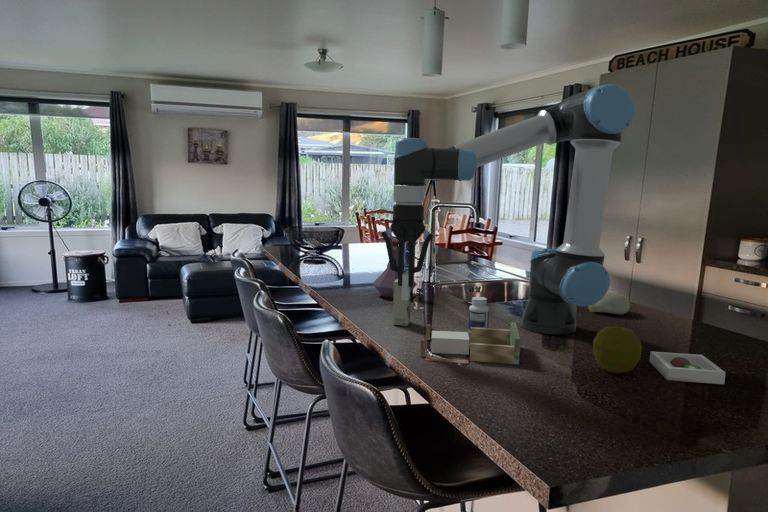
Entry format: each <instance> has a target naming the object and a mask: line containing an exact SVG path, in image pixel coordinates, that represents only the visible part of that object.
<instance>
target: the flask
mask: <svg viewBox="0 0 768 512" xmlns="http://www.w3.org/2000/svg"><path fill="white" fill-rule="evenodd" d="M392 244H393V249H394V253H395V258H396V263H397V266H398V256H399V241H398V240H392ZM404 272H407V271H406V269H405V270H404ZM397 279H398V273H397V272H396V271H393V270H391V267H390V262H389V261H388V262H387V266H386V268H385V269H384V271H383V272H382V273H381V274H380V275H379V276H378V277H377V278H376V279H375V280H374V281H373V282H372V284H371V285H373V286H374V287H375V289H376V290H377V291H378V292H379V294H380V295H381V296H383V297H384V298H387V297H390V298H389V299H394V281H395V280H397ZM417 285H418V284H417V283H416V281H415V280H414V285H413V286H412V287H410V293H411V292H413V290H414V288H415V287H417Z"/></svg>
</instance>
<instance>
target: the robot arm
mask: <svg viewBox="0 0 768 512" xmlns="http://www.w3.org/2000/svg"><path fill="white" fill-rule="evenodd" d="M635 112H636V107H635V101H634V100H633V98H632V96H631V94H629V92H628V91H627V89H625V88H624V87H623V86H620V85H619V84H612V83H609V84H606V83H605V84H603V85H599V84H598V85H596V86H594V87H592V88H590V89H586V90H583V91H581V92H578V93H575V94H572V95H570V96H569V97H567V98H565V99H563V100H561V101H559V102H558V103H556V104H554V105H551V106H549V107H547V108H544V109H542V110H539V111H538V113H537V115H536V116H533V117H529V118H527V119H524V120H521V121H519V122H517V123H513V124H510V125H508V126H505V127H502V128H500V129H496V130H494V131H491V132H488V133H485V134H482V135H480V136H477V137H474V138H472V139H469V140H465V141H463V142H460V143H458V144H455V145H453V146H450V147H446V148H442V147H441V148H433V147H428V144H427V143H428V142H427V140H426V139H425V138H421V137H418V138H417V137H401V138H399V139H398V140H396V141H395V149H394V150H395V151H394V157H393V158H394V159H393V160H394V161H393V162H394V165H393V167H394V170H393V172H394V173H393V194H392V195H393V197H392V200H393V203H395V204H393V205H392V221H391V224H390V227H389V228H388V229H387V230H384V231H382V232H381V237H382V238H383V240H384V243H385V247H386V251H387V256H388V262H390V267H391V270H393V271H396V272H397V273H398V286H402V300H407V301H408V299H409V287H412V286H413V285H414V281H415V274H416V273H420V272H421V271H422V270H423V265H424V262H425V260H426V256H427V252H428V249H429V245H430V242H431V241H432V240H433V239H434V237H435V235H434V233H433V232H431V231H429V230H427V229H426V226H425V223H424V219H425V218H424V217H425V215H424V214H425V206H424V205H423V203H425V196H426V195H425V194H426V193H425V192H426V191H425V190H426V180H431V181H434V182H440V181H459V182H463V181H471V180H473V179H474V177H475V175H476V171H477V168H479V167H482V166H485V165H487V164H490V163H493V162H497V161H498V160H502V159H504V158H507V157H509V156H512V155H515V154H518V153H520V152H523V151H526V150H530V149H532V148H535V147H537V146H540V145H542V144H543V145H544V144H546V145H549V146H550V145H551V146H552V145H554V144H557V143H561V142H565V141H570V145H572V146H573V148H574V150H575V152H574V158H573V165H572V166H573V167H572V174H571V181H570V182H571V183H570V189H569V196H568V205H567V212H566V221H565V228H564V235H563V243H562V244H561V245H559V246H558V247H557V248H535V249H533V250H532V253H531V257H530V260H529V261H530V270H529V271H530V272H529V288H528V289H529V291H528V301H527V302H526V305H525V308H524V310H523V313H522V315H521V320H520V325H521V327H522V328H524V329H526V330H529V331H530V332H531V331H532V332H534V333H540V334H546V335H568V334H572V333H575V332H576V331H577V319H576V316H575V313H574V308H573V305H574V306H578V307H588V306H590V305H593V304H595V303H597V302H598V301H599V300H601V299H602V298H603V297H604V296H605V295H606V293H607V291H608V290H609V288H610V284H611V277H610V273H609V272H608V271H607V269H606V268H605V266H604V261H605V253H604V251H603V250H602V249H601V248H600V244H601V236H602V230H603V229H602V228H603V223H604V216H605V215H604V214H605V210H606V209H605V207H606V202H607V201H606V200H607V193H608V187H609V179H610V178H609V177H610V173H611V172H610V171H611V164H612V158H613V153H614V150H615V149H617V148H618V147H619V146H620V145H621V142H622V135H623V132H624V131H625V130H626V129H627V128H628V127H629V126H631V124H632V122H633V120H634V117H635V115H636V114H635ZM393 235H394V237H395V238H396V241H399V245H398V246H399V256H398V266H397V263H396V258H395V253H394V249H393V244H392V241H393V240H392V237H393ZM422 235H423V240H424V241H423V243H422V247H421V250H420V253H419V257H418V260H417V264H416V243H417V241H418V240H419V239H420V237H421V236H422ZM406 242H408V243H409V244H408V248H409V249H408V271H406V269H405V261H406V260H405V258H406V255H405V254H406ZM415 264H416V265H415ZM404 270H405V271H406V272H404Z"/></svg>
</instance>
